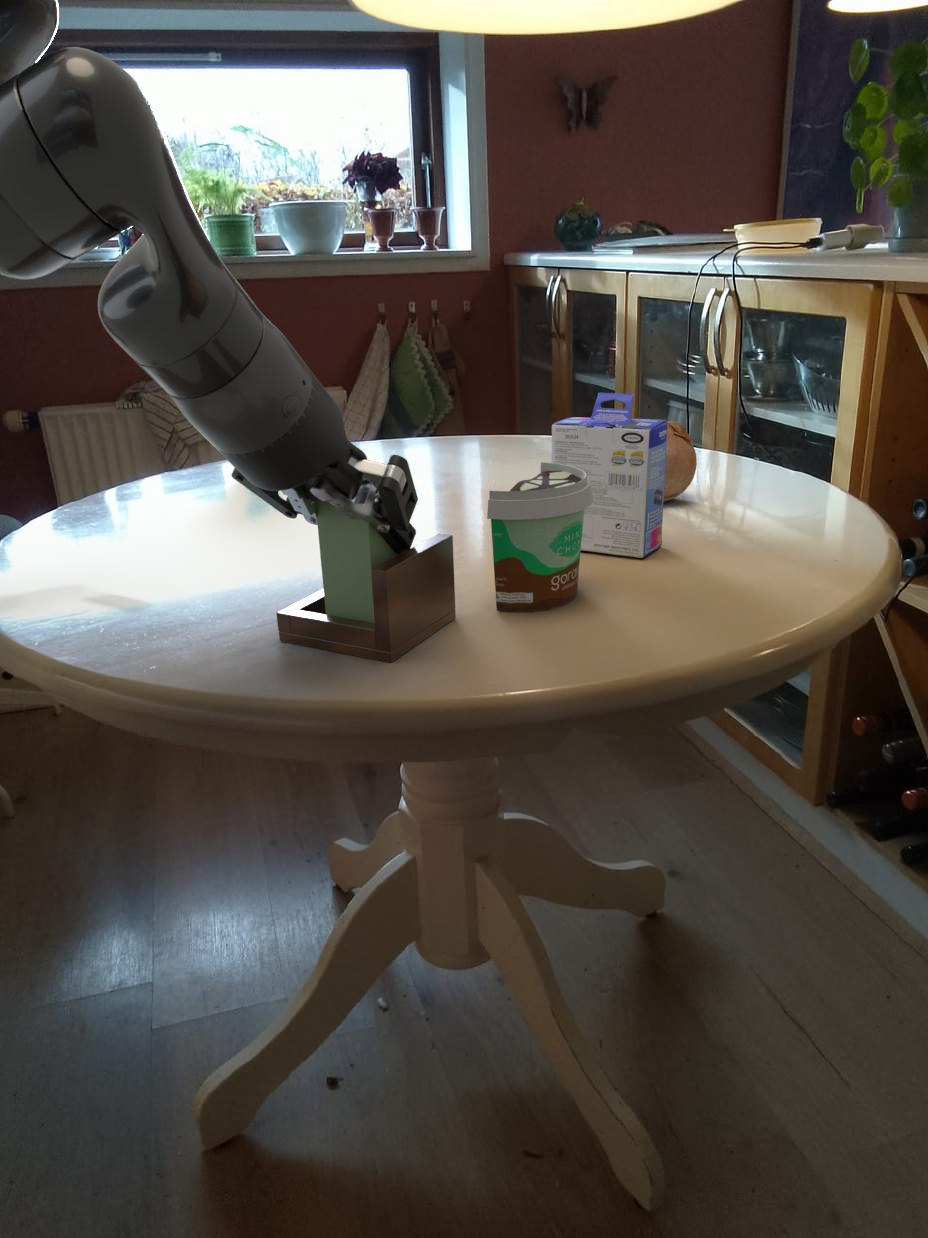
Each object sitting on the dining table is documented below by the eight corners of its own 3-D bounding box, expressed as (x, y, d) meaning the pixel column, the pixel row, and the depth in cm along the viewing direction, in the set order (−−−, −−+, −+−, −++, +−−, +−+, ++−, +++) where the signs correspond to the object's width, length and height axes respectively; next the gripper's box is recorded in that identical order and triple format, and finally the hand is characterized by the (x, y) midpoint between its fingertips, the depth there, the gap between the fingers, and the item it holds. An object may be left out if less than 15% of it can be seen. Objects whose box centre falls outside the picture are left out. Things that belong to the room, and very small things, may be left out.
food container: (563, 626, 68) (564, 498, 64) (489, 616, 70) (486, 492, 67) (609, 577, 78) (612, 464, 75) (543, 570, 81) (543, 460, 77)
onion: (680, 521, 106) (724, 445, 103) (652, 518, 98) (698, 435, 95) (617, 484, 110) (656, 409, 107) (584, 478, 102) (626, 397, 99)
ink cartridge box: (664, 545, 87) (672, 393, 82) (646, 560, 83) (653, 401, 77) (570, 534, 92) (572, 389, 86) (548, 548, 87) (548, 397, 82)
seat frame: (279, 641, 67) (269, 554, 65) (351, 601, 75) (345, 522, 72) (391, 663, 63) (385, 571, 60) (456, 618, 70) (452, 535, 68)
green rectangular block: (325, 617, 67) (314, 500, 64) (363, 596, 71) (354, 485, 68) (375, 625, 65) (367, 505, 62) (411, 604, 69) (404, 490, 66)
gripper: (375, 350, 52) (476, 506, 66) (191, 349, 58) (320, 491, 72) (329, 458, 49) (444, 596, 64) (142, 444, 56) (285, 572, 70)
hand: (377, 540), depth 68 cm, fingers closed on green rectangular block, 4 cm apart
